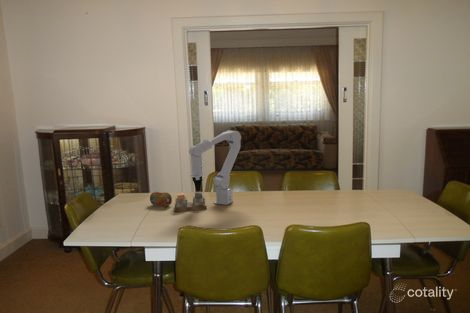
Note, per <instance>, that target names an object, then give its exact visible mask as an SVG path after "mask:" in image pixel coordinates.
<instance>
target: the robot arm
mask: <svg viewBox="0 0 470 313" xmlns="http://www.w3.org/2000/svg"><path fill="white" fill-rule="evenodd" d="M241 140H242V135H241V133H240V131H237V130H231V129H230V130H229V129H228V130H226V131H223V132H222V133H220V134H217V135H216V136H215V137H213V138H211V139H203V141H201V142H199V143H196V145H192V146H190V148H189V150H188V153H189V155H190V163H191V164H190V165H191V174H189V177H192V181H193V184H194V187H195V192H201V188H202V187H201V186H202V182H203V170H202V154H203V153H205V152H207V151H209V150H211V149H212V148H213V146H214V145H216V144H218V143H221V142H223V141H226V142H228V144H229V146H230V149H229V151H228V153H227V156H226V158H225V160H224V163H223V164H222V168H221V170H220V171H219V172H218V173H217V175H216V176H215V177H214V179H213V181H212V182H213V185H214V186H215V197H216V199H215V201H214V202H213V204H217V205H225V206H226V205H227V206H228V205H229V204H232V203H233V202H234V200H233V198H234V197H233V190H232V189H231V188H229V186H230V180H231V176H230V174H231V171H232V169H233V166H234V164H235V162H236V159H237V156H238V154H239V152H240V150H241Z"/></svg>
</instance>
